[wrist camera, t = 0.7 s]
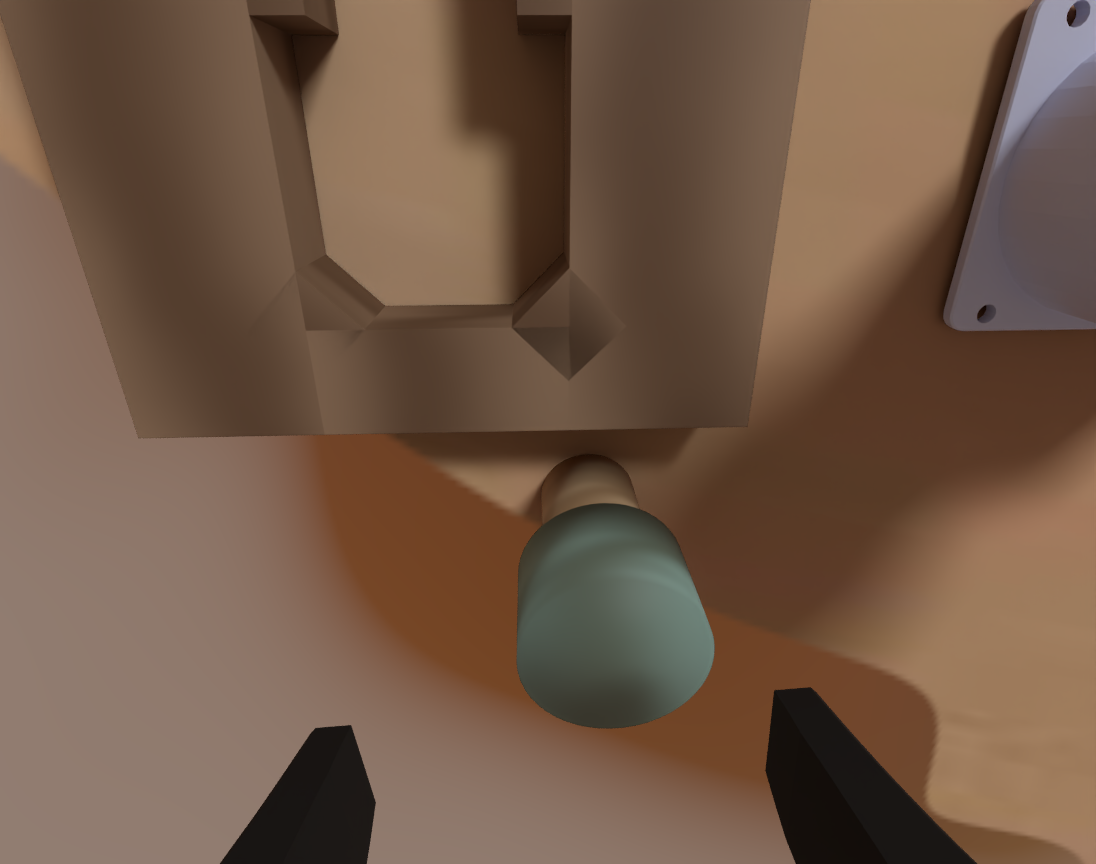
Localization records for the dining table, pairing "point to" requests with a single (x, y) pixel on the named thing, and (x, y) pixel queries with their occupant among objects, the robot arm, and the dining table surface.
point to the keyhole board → (347, 307)
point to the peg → (606, 605)
